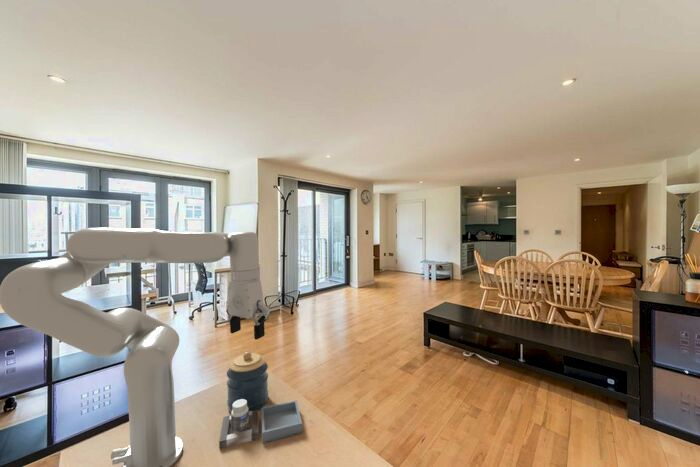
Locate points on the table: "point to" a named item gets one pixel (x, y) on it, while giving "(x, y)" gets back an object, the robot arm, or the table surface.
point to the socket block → (240, 436)
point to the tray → (280, 421)
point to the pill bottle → (239, 416)
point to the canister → (248, 381)
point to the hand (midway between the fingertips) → (247, 334)
